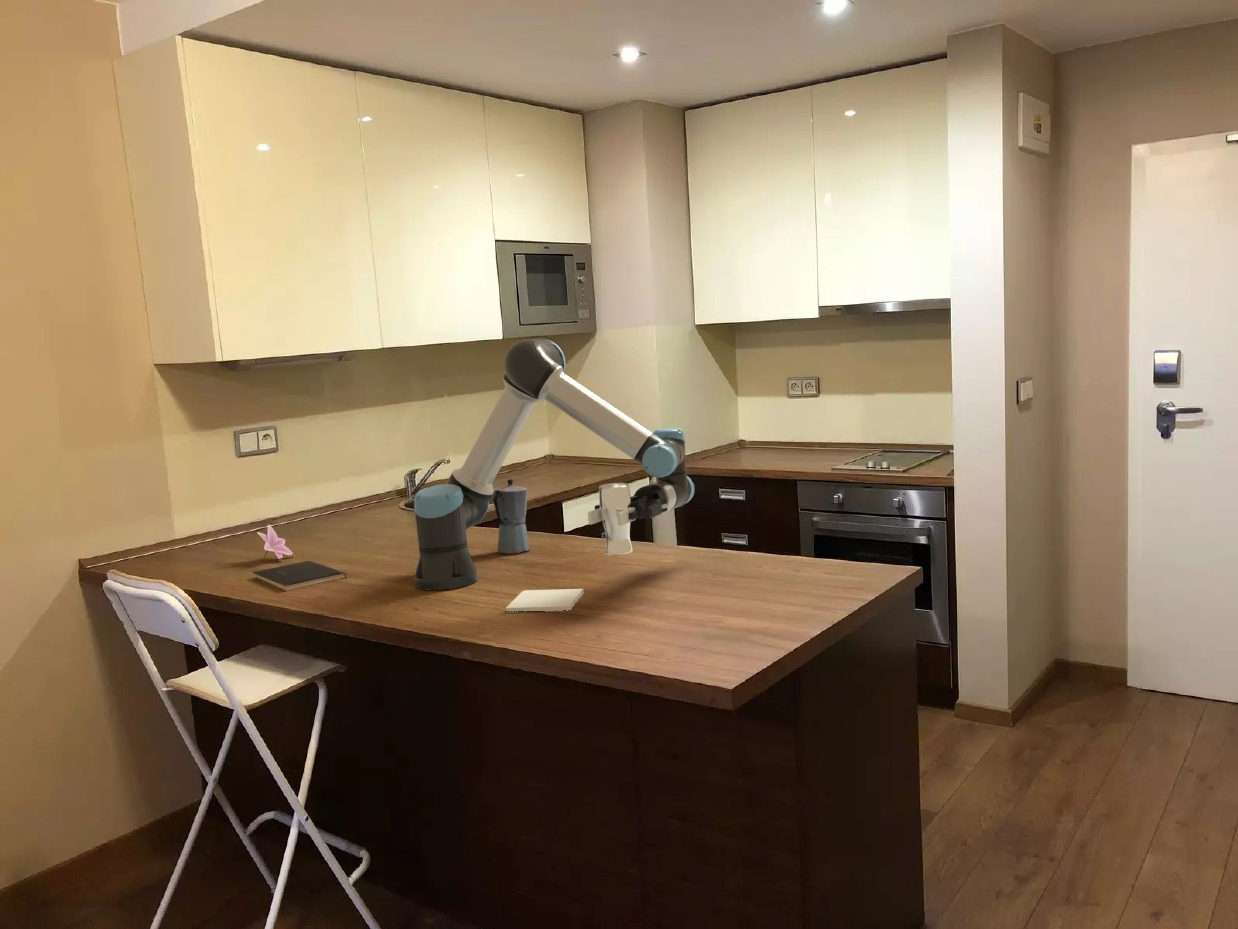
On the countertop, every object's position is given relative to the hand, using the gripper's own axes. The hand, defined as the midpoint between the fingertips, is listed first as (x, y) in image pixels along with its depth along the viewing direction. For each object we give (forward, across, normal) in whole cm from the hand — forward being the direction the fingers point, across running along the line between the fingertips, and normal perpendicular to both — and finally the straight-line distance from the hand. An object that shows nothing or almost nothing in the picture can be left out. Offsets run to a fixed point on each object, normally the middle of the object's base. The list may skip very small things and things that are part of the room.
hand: (604, 518), depth 212 cm
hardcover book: (+3, +93, -19) cm, 95 cm away
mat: (+6, +13, -18) cm, 23 cm away
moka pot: (-35, +51, -18) cm, 65 cm away
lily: (-11, +119, -18) cm, 121 cm away
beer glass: (-5, 0, -9) cm, 10 cm away
